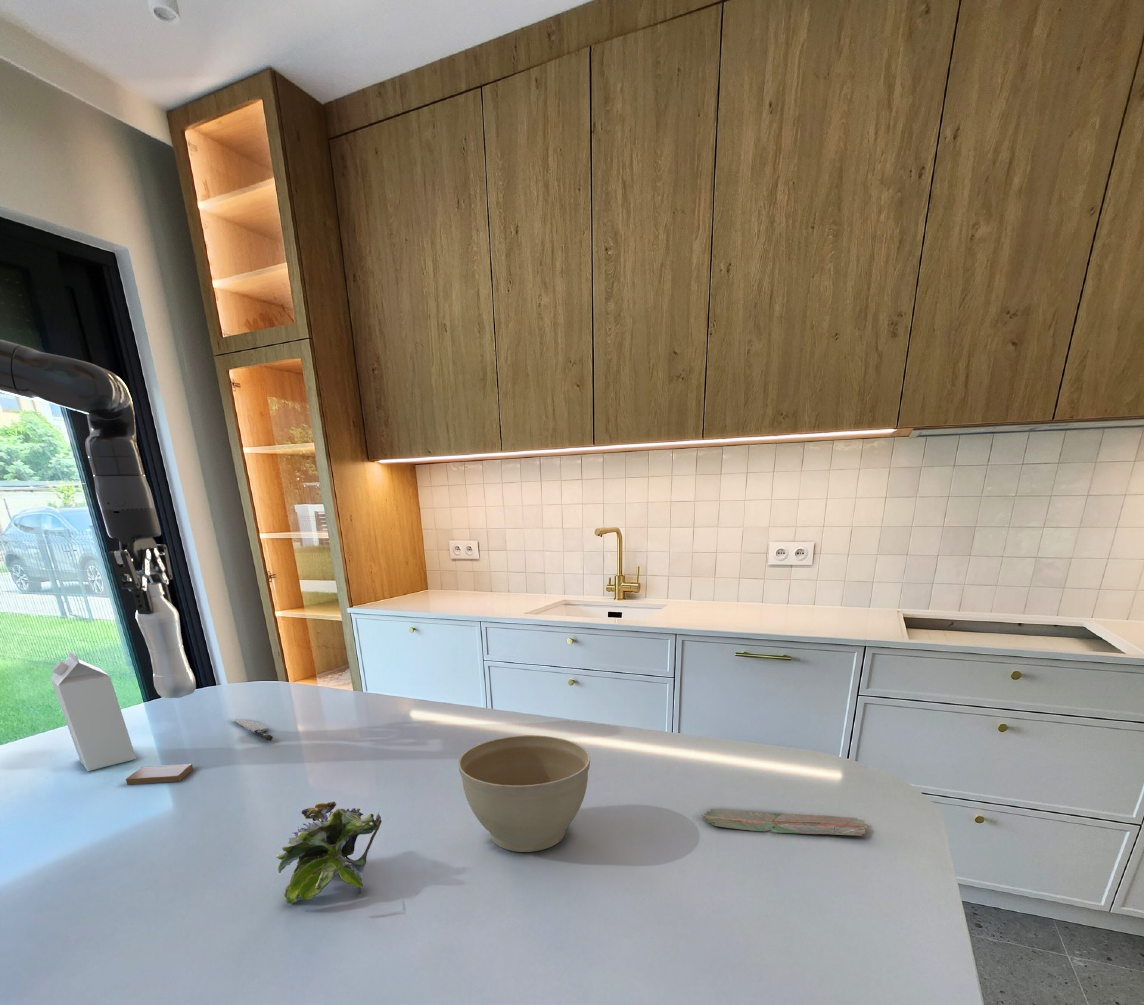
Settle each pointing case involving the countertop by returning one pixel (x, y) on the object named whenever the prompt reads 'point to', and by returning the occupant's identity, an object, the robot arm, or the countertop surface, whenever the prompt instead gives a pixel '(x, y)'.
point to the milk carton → (92, 713)
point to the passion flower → (326, 850)
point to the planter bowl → (525, 788)
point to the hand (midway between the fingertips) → (155, 610)
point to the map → (786, 822)
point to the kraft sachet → (159, 774)
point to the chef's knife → (255, 728)
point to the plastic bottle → (166, 646)
